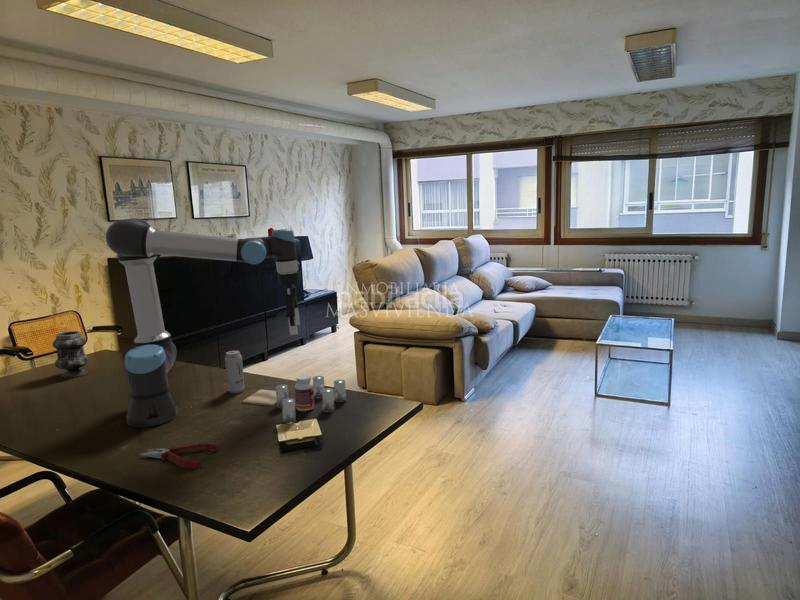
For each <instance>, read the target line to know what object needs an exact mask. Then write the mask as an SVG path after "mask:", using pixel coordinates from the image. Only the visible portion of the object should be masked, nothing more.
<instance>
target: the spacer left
mask: <svg viewBox="0 0 800 600" xmlns="http://www.w3.org/2000/svg"><path fill="white" fill-rule="evenodd" d="M275 391H276V398H277V403H276V408H277V409H282V400H284V399H287V398H289V394H288V392H289V388H288V385H287V384H278V385H276V386H275Z"/></svg>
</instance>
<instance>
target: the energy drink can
mask: <svg viewBox="0 0 800 600" xmlns="http://www.w3.org/2000/svg"><path fill="white" fill-rule="evenodd" d="M240 352H241V351H240V350H230V351H227V352H225V356H224V365H225V375H226V377H225V378H226V385H227V391H228V392H229V393H230V394H239V393H242V392H243V391H244V389H245V379H244V376H245V375H244V367H243V366H244V365H243V357H242V354H241V353H240Z"/></svg>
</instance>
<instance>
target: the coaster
mask: <svg viewBox="0 0 800 600" xmlns="http://www.w3.org/2000/svg"><path fill="white" fill-rule="evenodd" d="M289 394H290V391H288V395H289ZM241 404H246V405H247V404H248V405H259V406H268V407H274V405H277V398H276V390H270V389H259V390H257V391H256V392H254V393H252V394H251V395H250V396H248V397H246V398H245V399H243V400H242V401H241Z"/></svg>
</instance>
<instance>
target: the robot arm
mask: <svg viewBox="0 0 800 600" xmlns="http://www.w3.org/2000/svg"><path fill="white" fill-rule="evenodd" d="M294 233H295V232H294V230H293V229H291V228H282V229H281V228H280V229H274V230H272V232H271V235H270V236H269V235H268V236H262V237H261V236H259V237H246V238H236V237H235V238H234V237H226V236H217V235H206V234H198V233H188V232H177V231H169V230H168V231H167V230H159V229H155V228H154V227H153V226H152V224H150V223H149V222H148V221H146V220H144V219H140V218H135V217H134V218H133V217H132V218H131V217H130V218H126V219H119V220H116V221H114V222H112V223H111V224H110V225H109V226H108V228H107V230H106V232H105V241H106V245H107V246H108V247H109V250H110V251H112V252H113V253H115V254H116V255H117V261H118V262H119V263H120V264H122V265H123V266H124V268H125V269H124V270H125V274H126V278H127V285H128V290H129V296H130V301H131V305H132V311H133V316H134V317H133V318H134V322H135V326H136V327H135V328H136V331H137V332H136V333H137V336H136V337H135V338H134V339H133V342H134V344H133V345H134V347H133V348H131V349H129V350H128V351H127V352H126V354H125V356H124V367H125V372H126V377H127V385H128V392H129V402H128V408H127V413H126V415H125V417H126V424H127V425H128V426H130V427H134V428H149V427H154V426H160V425H162V424H166V423H168V422H170V421H172V420H173V419H175V418H176V417H177V416H178V407H177V405H176V404H175V402H174V400H173V396H172V395H171V393H170V387H169V378H168V373H169V371H170V370H171V369H172V367H173V366H174V365H175V363H176V360H177V356H178V355H177V354H178V353H177V348H176V346H175V344H174V343H173V341H172V337H171V333H170V332H168V331H167V330H165V324H164V323H165V322H164V318H163V313H162V312H163V311H162V306H161V300H160V295H159V291H158V290H159V289H158V284H157V278H156V273H155V267H154V262H155V260H156V259H157V256H158V255H159V256H160V255H161V256H171V257H172V256H173V257H180V258H181V257H183V258H194V259H204V260H205V259H207V260H217V261H228V262H238V263H247V264H248V265H258V264H261V263H262V262H263V261H265V259H270V258H272V259H273V258H275V267H276V272H277V273H278V274H277V280H278V284H279V285H280V286H283V285H285V288H284V290H283V292H284V296H285V297H284V298H285V303H286V304H285V307H286V308H285V309H286V314H285V318H287V321H288V329H289V336H294V335H299V331H298V326H300V325H301V322H300V313H299V308H301V307H300V304H299V302H298V297H297V288H296V284H298V283H300V282H301V281H300V280H301V279H300V273H299V272H298V271H299V265H300V262H299V261H298V255H297V254H298V253H297V247H296V239H295V234H294Z"/></svg>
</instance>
